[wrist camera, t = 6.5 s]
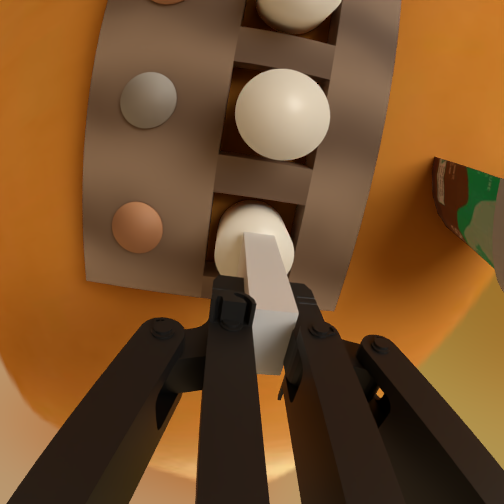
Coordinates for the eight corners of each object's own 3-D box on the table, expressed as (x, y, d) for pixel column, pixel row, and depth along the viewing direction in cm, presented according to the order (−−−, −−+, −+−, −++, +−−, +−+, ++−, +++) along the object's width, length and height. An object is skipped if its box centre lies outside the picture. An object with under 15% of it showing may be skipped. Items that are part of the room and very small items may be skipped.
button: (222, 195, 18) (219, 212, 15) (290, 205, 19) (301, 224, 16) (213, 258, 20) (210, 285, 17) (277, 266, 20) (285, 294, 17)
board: (138, -53, 11) (129, -68, 9) (389, -14, 13) (404, -24, 11) (97, 266, 20) (85, 281, 18) (326, 295, 22) (334, 312, 20)
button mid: (241, 72, 14) (243, 61, 11) (317, 87, 15) (337, 80, 12) (229, 145, 16) (228, 152, 13) (304, 158, 16) (320, 168, 13)
